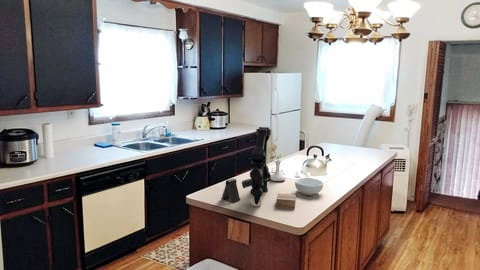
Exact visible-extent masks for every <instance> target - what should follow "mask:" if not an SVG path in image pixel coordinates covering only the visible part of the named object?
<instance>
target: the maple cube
mask: <svg viewBox="0 0 480 270" xmlns="http://www.w3.org/2000/svg"><path fill="white" fill-rule="evenodd" d="M262 196H263V194H262V195H261V198H260V200H259V202H258V204H255V200H254V196H253V195H251V206H252V207H262V199H263V198H262Z"/></svg>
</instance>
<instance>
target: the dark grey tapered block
mask: <svg viewBox="0 0 480 270" xmlns="http://www.w3.org/2000/svg"><path fill="white" fill-rule="evenodd" d="M222 199H223V201H225V200H226V201H225V202H228V201H229V202H228V203H231V202H233V203H234V204H235V203H236V202H239V200H240V201H241V197H240V194H239V189H238V185H237V178H229V179H226V181H225V186H224V189H223V194H222V195H221V200H222ZM233 203H232V204H233Z"/></svg>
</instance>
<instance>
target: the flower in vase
mask: <svg viewBox="0 0 480 270" xmlns="http://www.w3.org/2000/svg"><path fill="white" fill-rule="evenodd" d="M277 149H278V145H277V144H275V143H274V144H272V145H270V146H269V147H268V148H267V154H273V153H274V154H276V153H275V152H276V151H277ZM281 157H282V155H281V154H279V155H277V156H276V155H273V156H270V158H269V159H271V160H274V161H273V162H274V164H275V171H274V172H273V173H270V174H271V181H274V182H283V181H285V180H286V175H284V174H283V173H282V172H281V171H280V166H281V165H280V164H281V163H282V159H280V158H281Z"/></svg>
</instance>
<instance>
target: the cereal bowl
mask: <svg viewBox="0 0 480 270" xmlns="http://www.w3.org/2000/svg"><path fill="white" fill-rule="evenodd" d="M294 184H295V185H294V186H295V189H296V190H297V191H298V192H300V193H302V194H303V195H305V196H307V195H308V196H314V195H315V194H318V193H320V192H321V191H322V190H323V188H324V182H323V181H322V180H319V179H317V178H310V177H307V178H306V177H302V178H301V177H300V178H298V179H295V181H294Z"/></svg>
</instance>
